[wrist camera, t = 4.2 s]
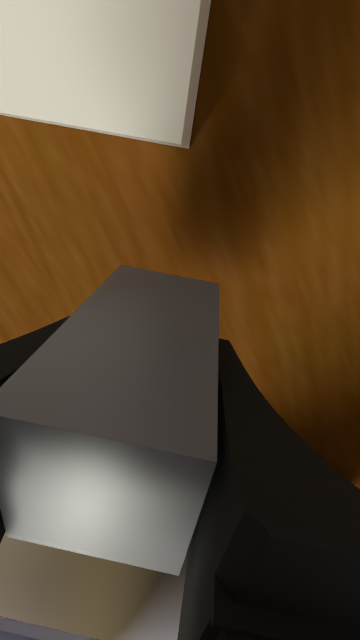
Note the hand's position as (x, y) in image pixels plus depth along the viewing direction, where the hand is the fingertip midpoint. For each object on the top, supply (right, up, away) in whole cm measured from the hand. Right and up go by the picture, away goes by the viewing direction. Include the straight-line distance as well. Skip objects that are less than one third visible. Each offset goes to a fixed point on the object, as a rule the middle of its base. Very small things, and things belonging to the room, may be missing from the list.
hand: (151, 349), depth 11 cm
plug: (0, +1, +2) cm, 2 cm away
